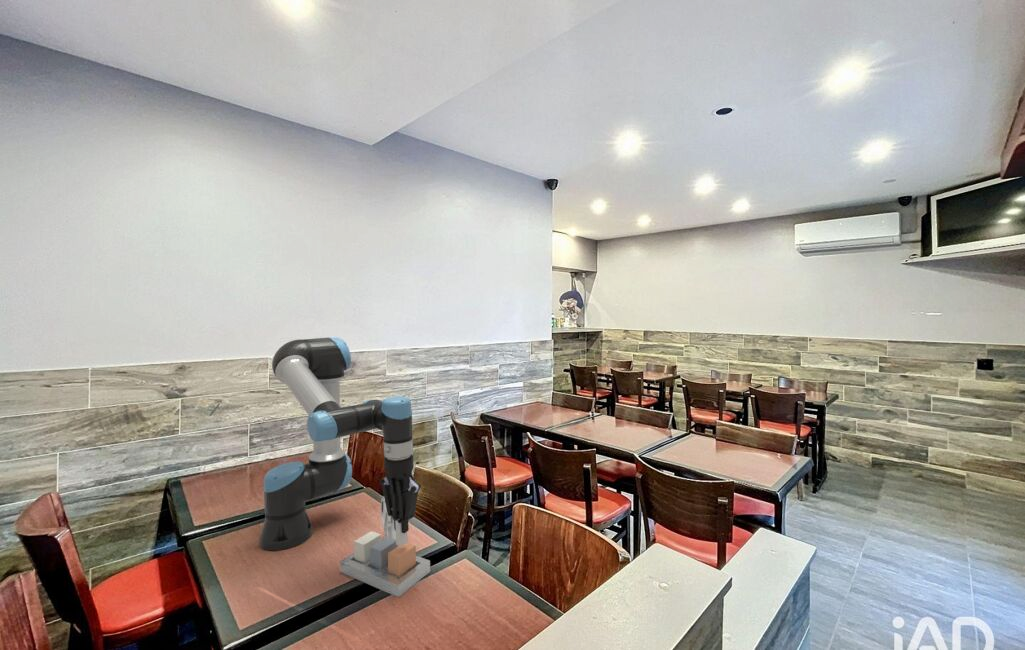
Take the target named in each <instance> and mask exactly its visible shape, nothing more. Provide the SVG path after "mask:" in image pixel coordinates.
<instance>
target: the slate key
mask: <svg viewBox="0 0 1025 650" xmlns="http://www.w3.org/2000/svg"><path fill="white" fill-rule="evenodd" d="M396 547H398V545H396V539H393V538H390V537H386V538H385V537H384V538H383V539H381V541H380V542H378V543H377V544H375V545H373V546H372V547H370V551H371V566H374V567H376V568H379V569H383V568H384V567H386V566H387V565H388V553H389V552H390V551H392V550H393V549H395V548H396Z"/></svg>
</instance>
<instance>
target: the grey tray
mask: <svg viewBox="0 0 1025 650" xmlns="http://www.w3.org/2000/svg"><path fill="white" fill-rule="evenodd" d="M339 565H340V566H339V567H340V568H339V569H340V573H341V574H343V575H346V576H349V577H351V578H352V579H356V580H358V581H360V582H362V583H364V584H367V585H369V586H371V587H374V588H376V589H379V590H381V591H383V592H385V593H388V594H389V595H392V596H394V597H396V598H399V597H401V596H402V595H403V594H404V593H406V592H407V591H408V590H409V589H411V588H412V587H413V586H415V585H416V584H417V583H418V582H419V581H421V579H423V578H424V577H425V576H427V575H428V574H429V573H430V572H431V560H430V559H426V558H424V557H421V556H418V555H416V564H415V565H414V566H412V567H411V568H410V569H408V570H407V571H406V572H404V573H403V574H402V575H400V576H398V575H395V574H393V573H390V572H388V565H387V566H386V567H384V568H383V569H379V568H376V567H374V566H371V559H369V560H368V561H366V562H365V563H364V562H361V561H359V560H356V559H355V556H354V552H353V553H352V554H350V555H348V556H347V557H345V558H343V559H342V560H340V561H339Z"/></svg>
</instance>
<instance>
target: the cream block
mask: <svg viewBox="0 0 1025 650" xmlns="http://www.w3.org/2000/svg"><path fill="white" fill-rule="evenodd" d="M381 540H382V534H380V533H378V532H375V531H369V532H368V533H366V534H363V535H362V536H360V537H359V538H357V539H355V540H354V541H353V548H354V549H353V550H354V551H353V553H354V556H355V559H356V560H359V561H361V562H364V563H365V562H366V561H368V560H369V559H371V551H370V547H372V546H373V545H375V544H377V543H378V542H380V541H381Z"/></svg>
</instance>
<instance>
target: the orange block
mask: <svg viewBox="0 0 1025 650" xmlns="http://www.w3.org/2000/svg"><path fill="white" fill-rule="evenodd" d="M416 550H417V549H416V545H414V544H412V543H409V542H406V543H405V544H403V545H402V546H398V547H396V548H395V549H393V550H392V551H390V552H389V553H388V572H390V573H393V574H395V575H398V576H400V575H402V574H403V573H404V572H406V571H407V570H408V569H410V568H411V567H412V566H414V565H415V564H416V556H417V554H416V553H417V551H416Z"/></svg>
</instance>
